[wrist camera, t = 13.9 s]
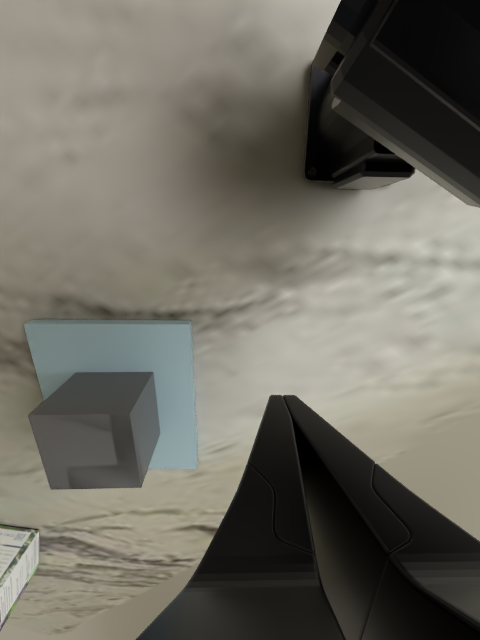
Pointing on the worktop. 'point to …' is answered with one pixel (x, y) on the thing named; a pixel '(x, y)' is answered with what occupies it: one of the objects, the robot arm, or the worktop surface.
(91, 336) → the plate
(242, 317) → the worktop surface
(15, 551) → the syrup box
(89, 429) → the grey block
